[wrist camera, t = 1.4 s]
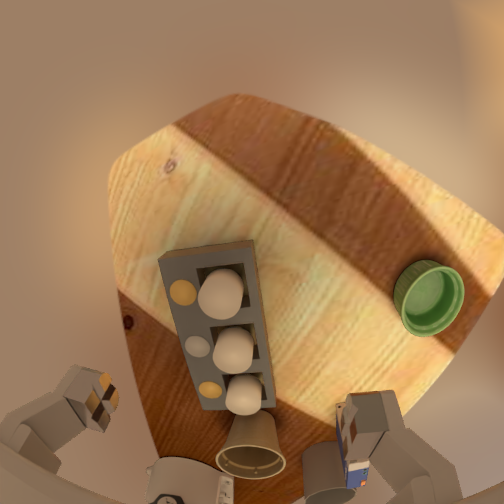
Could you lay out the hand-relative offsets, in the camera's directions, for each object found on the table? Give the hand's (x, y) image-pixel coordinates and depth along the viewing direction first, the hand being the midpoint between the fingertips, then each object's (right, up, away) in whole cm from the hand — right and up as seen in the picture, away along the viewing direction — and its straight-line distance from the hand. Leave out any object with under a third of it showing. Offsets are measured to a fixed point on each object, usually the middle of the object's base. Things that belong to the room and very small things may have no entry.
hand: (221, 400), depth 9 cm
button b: (-1, -5, +25) cm, 25 cm away
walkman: (+15, -21, +31) cm, 41 cm away
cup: (+14, -31, +34) cm, 48 cm away
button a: (0, -12, +27) cm, 29 cm away
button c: (-2, +1, +23) cm, 23 cm away
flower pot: (+1, -21, +32) cm, 38 cm away
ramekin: (+22, 0, +25) cm, 33 cm away
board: (-2, -5, +27) cm, 28 cm away
